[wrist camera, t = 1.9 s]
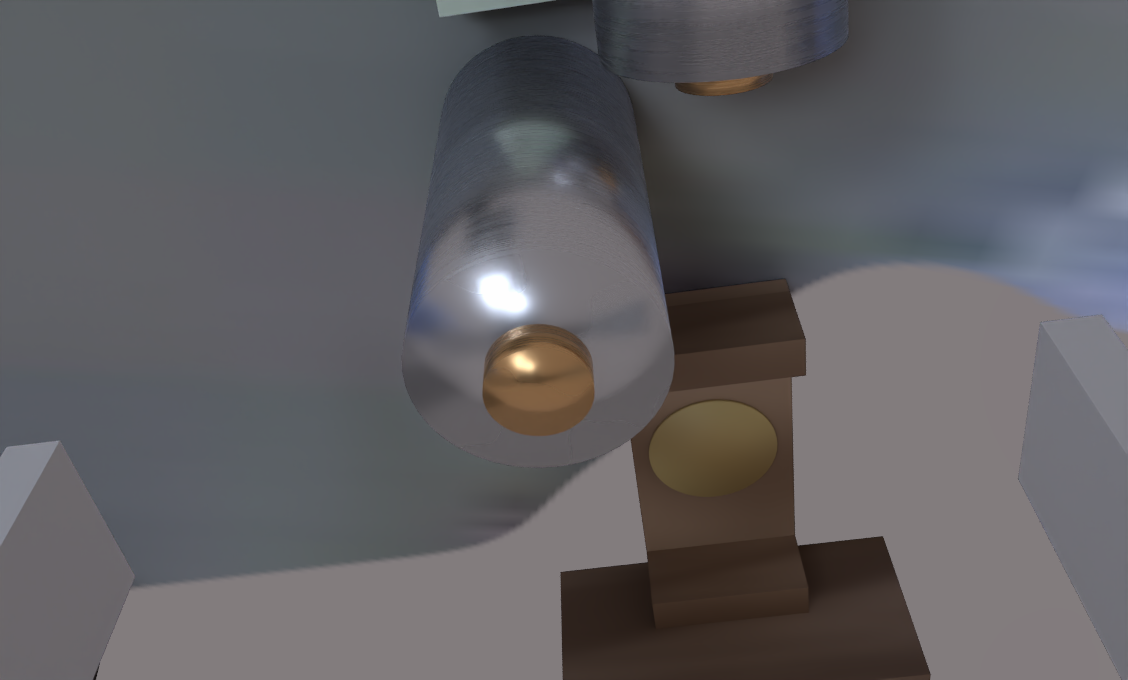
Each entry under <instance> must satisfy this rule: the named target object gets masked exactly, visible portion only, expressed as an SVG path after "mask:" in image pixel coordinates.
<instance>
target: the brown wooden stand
mask: <svg viewBox="0 0 1128 680" xmlns="http://www.w3.org/2000/svg"><path fill="white" fill-rule="evenodd" d="M665 300H666V306H667V311H668V317H669V323H670V329H671V335H672V341H673V347H674V364H675V365H674V372H673V379H672V382H671V385H670V389H669V392H668V394H667V396H666V398H665V400H664V402H663V404H662V406H661V407H660V409H659V410H658V412H657V413H656V415H655V416H654V417H653V419H652V420H651V421H650V422H649V423H648V424H647V425H646V426H645V427H644V428H643V429H642V430H641V431H640V432H639V433H638V434H636V435H635V436H634V437H633V438H631V444H632V452H633V459H634V466H635V472H636V480H637V487H638V494H639V501H640V508H641V515H642V522H643V529H644V536H645V542H646V550H647V559H648V562H647V563H638V564H629V565H620V566H611V567H601V568H593V569H584V570H575V571H566V572H561V611H562V615H561V616H562V660H563V661H562V662H563V664H562V666H563V680H930V671H929V669H928V665H927V663H926V660H925V657H924V654H923V651H922V648H921V645H920V642H919V639H918V636H917V634H916V631H915V628H914V625H913V622H912V619H911V616H910V613H909V611H908V607H907V605H906V602H905V599H904V596H903V593H902V590H901V587H900V584H899V581H898V579H897V576H896V573H895V570H894V567H893V564H892V562H891V558H890V556H889V553H888V550H887V547H886V544H885V541H884V538H883V537H882V536H881V537H872V538H863V539H854V540H845V541H836V542H827V543H818V544H809V545H800V546H798V545H797V541H796V537H795V519H794V518H795V516H794V470H793V426H792V379H791V377H796V376H805V375H806V339H805V336H804V333H803V330H802V327H801V324H800V321H799V318H798V315H797V312H796V309H795V306H794V303H793V300H792V297H791V294H790V291H789V288H788V285H787V282H786V279H779V280H771V281H764V282H756V283H748V284H740V285H733V286H725V287H717V288H709V289H701V290H694V291H686V292H678V293H670V294H665Z"/></svg>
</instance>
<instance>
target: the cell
mask: <svg viewBox="0 0 1128 680" xmlns="http://www.w3.org/2000/svg"><path fill="white" fill-rule="evenodd" d="M674 365H675V364H674V347H673V341H672V335H671V329H670V323H669V317H668V311H667V306H666V300H665V294H664V288H663V282H662V276H661V270H660V264H659V258H658V253H657V247H656V241H655V235H654V229H653V223H652V217H651V211H650V205H649V200H648V194H647V188H646V182H645V176H644V170H643V164H642V158H641V153H640V147H639V141H638V135H637V129H636V123H635V117H634V112H633V106H632V102H631V99H630V96H629V94H628V91H627V89H626V87H625V85H624V83H623V82H622V80H621V79H620V77H619V76H618V75H616V74H614V73H611V72H609V71H608V70H606V69H605V68H603V66H602V65H601V64H600V61H599V55H597V54H596V53H594V52H593V51H591V50H590V49H588V48H586V47H584V46H582V45H580V44H577V43H575V42H572V41H569V40H566V39H563V38H558V37H552V36H538V35H534V36H522V37H517V38H513V39H508V40H506V41H503V42H500V43H497V44H495V45H493V46H491V47H489V48H487V49H485V50H484V51H482V52H481V53H479V54H478V55H476V56H475V57H474V58H473V59H472V60H470V61H469V62H468V63H467V64H466V65H465V66H464V67H463V68H462V70H461V71H460V72H459V73H458V74H457V76H456V78H455V79H454V81H453V82H452V84H451V86H450V88H449V90H448V93H447V95H446V98H445V101H444V105H443V109H442V115H441V121H440V127H439V133H438V139H437V145H436V151H435V157H434V162H433V168H432V174H431V180H430V186H429V192H428V198H427V204H426V210H425V216H424V222H423V228H422V234H421V240H420V246H419V252H418V258H417V264H416V270H415V276H414V282H413V288H412V294H411V300H410V306H409V312H408V318H407V324H406V330H405V336H404V342H403V350H402V372H403V377H404V382H405V386H406V388H407V391H408V393H409V396H410V398H411V400H412V402H413V404H414V405H415V407H416V409H417V411H418V412H419V413H420V415H421V416H422V417H423V418H424V420H425V421H426V422H427V423H428V424H429V425H430V426H431V427H432V428H433V429H434V430H435V431H436V432H437V433H438V434H440V435H441V436H442V437H443V438H445V439H446V440H447V441H449V442H450V443H452V444H454V445H455V446H457V447H459V448H460V449H462V450H464V451H466V452H468V453H471V454H473V455H475V456H477V457H480V458H483V459H486V460H489V461H492V462H496V463H501V464H505V465H510V466H519V467H532V468H545V467H559V466H565V465H571V464H576V463H579V462H583V461H587V460H590V459H593V458H596V457H598V456H601V455H603V454H606V453H608V452H610V451H612V450H614V449H616V448H617V447H619V446H621V445H622V444H624V443H625V442H627V441H628V440H630V439H631V438H633V437H634V436H635V435H636V434H638V433H639V432H640V431H641V430H642V429H643V428H644V427H645V426H646V425H647V424H648V423H649V422H650V421H651V420H652V419H653V417H654V416H655V415H656V413H657V412H658V410H659V409H660V407H661V406H662V404H663V402H664V400H665V398H666V396H667V394H668V392H669V389H670V385H671V382H672V379H673V372H674Z"/></svg>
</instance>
